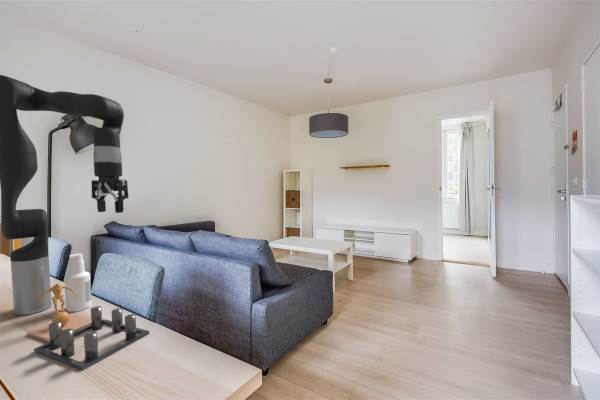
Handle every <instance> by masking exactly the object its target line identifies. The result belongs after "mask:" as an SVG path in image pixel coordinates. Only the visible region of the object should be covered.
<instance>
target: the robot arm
mask: <svg viewBox="0 0 600 400" xmlns="http://www.w3.org/2000/svg"><path fill="white" fill-rule="evenodd" d="M17 110H18V111H22V112H41V111H42V112H55V113H60V114H64V115H69V116H76V117H81V118H86V117H89V118H93V119H96V120H101V121H102V124H101V125H102V126H101V127H96V128H95V129H94V130H93V136H92V137H93V138H92V139H93V154H92V155H93V171H94V172H93V173H94V176H95V177H97V178H98V179H97V180H96V179H95V180H94V179H92V180H91V198H92V199H95V201H96V205H97V207H96V208H97V212H98V213H103V212H104V213H105V212H106V211H107V208H106V207H107V205H106V198H107V196H112V197H113V198H114V199H113V200H115V201H114V212H115V213H116V214H120V213H121V214H122V213H123V212H124V209H125V208H124V201H125V200H127V199H129V188H128V180H127V179H120V178H121V177H122V176H123V163H122V162H123V161H122V153H121V151H122V150H121V138H120V135H121V132H122V126H123V122H124V119H125V113H124V109H123V107H122V105H121V104H120V103H119V102H118V101H116V100H113V99H111V98H108V97H105V96H102V95H98V94H93V93H83V94H82V93H77V92H71V91H62V90H61V91H60V90H59V91H54V92H53V91H52V92H51V91H47V90H43V89H41V88H37V87H34V86H33V85H30V84H28V83H26V82H24V81H21V80H18V79H16V78H13V77H10V76H7V75H3V74H0V222H1V223H0V227H1V232H2V236H3V237H4V238H5V239H6V240H19V239H21V240H22V239H29V238H33V239H32V241H31V242H29V243H27V244H25V245H23V246H21V247H19V248H16V249H14V250H12V251H11V252H10V255H9V257H10V258H9V259H10V270H11V271H10V272H11V285H12V289H11V290H12V302H13V314H14V315H17V316H26V315H31V314H36V313H40V312H42V311H44V310H45V311H46V310H47V309H50V308H51V307H52V304H53V302H52V291H50V292H48V293H46V294H45V295H44V297H43V300H42V301H41V302H42V303H41V304H42V305H39V303H40V300H41V297H42V294H43V293H44V292H46V291H47V290H49V289H50V288H52V287H51V270H50V258H49V255H50V254H49V217H48V214H47V211H46V210H44V209H43V208H29V209H17V203H18V199H20V198H19V197H20V196H21V194H22V193H23V190H24V189H25V188H26V187H27V185H29V183H30V181H32V179H33V178H34V177H35V175H36V173H37V172H38V168H39V167H38V155H37V154H38V153H37V149H36V147H35V144H34V143H33V141H32V140H31V138H30V137H29V135H28V134H27V132H26V131H25V130H24V128H23V126H22V125H21V122H20V120H19V117H18V111H17Z"/></svg>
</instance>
